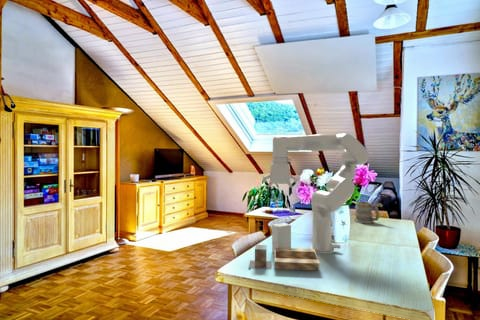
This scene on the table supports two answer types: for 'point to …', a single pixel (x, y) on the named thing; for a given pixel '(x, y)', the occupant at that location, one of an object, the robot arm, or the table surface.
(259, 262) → the block
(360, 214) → the tankard
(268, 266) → the coaster
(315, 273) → the table surface
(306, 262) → the wooden tray
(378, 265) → the table surface
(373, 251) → the table surface
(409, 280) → the table surface
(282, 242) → the skincare box
